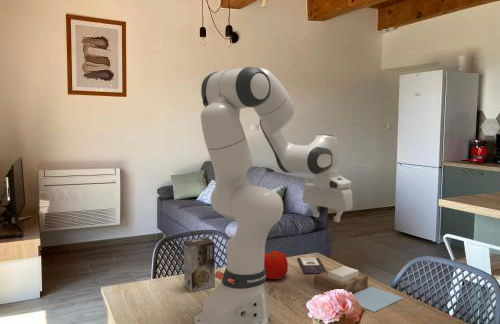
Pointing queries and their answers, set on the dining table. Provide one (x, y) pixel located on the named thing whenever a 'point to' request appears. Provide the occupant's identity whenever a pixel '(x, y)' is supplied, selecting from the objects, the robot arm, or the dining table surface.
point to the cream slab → (343, 273)
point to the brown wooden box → (340, 283)
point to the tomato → (275, 265)
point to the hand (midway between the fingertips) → (326, 219)
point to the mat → (375, 299)
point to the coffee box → (199, 264)
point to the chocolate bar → (311, 265)
